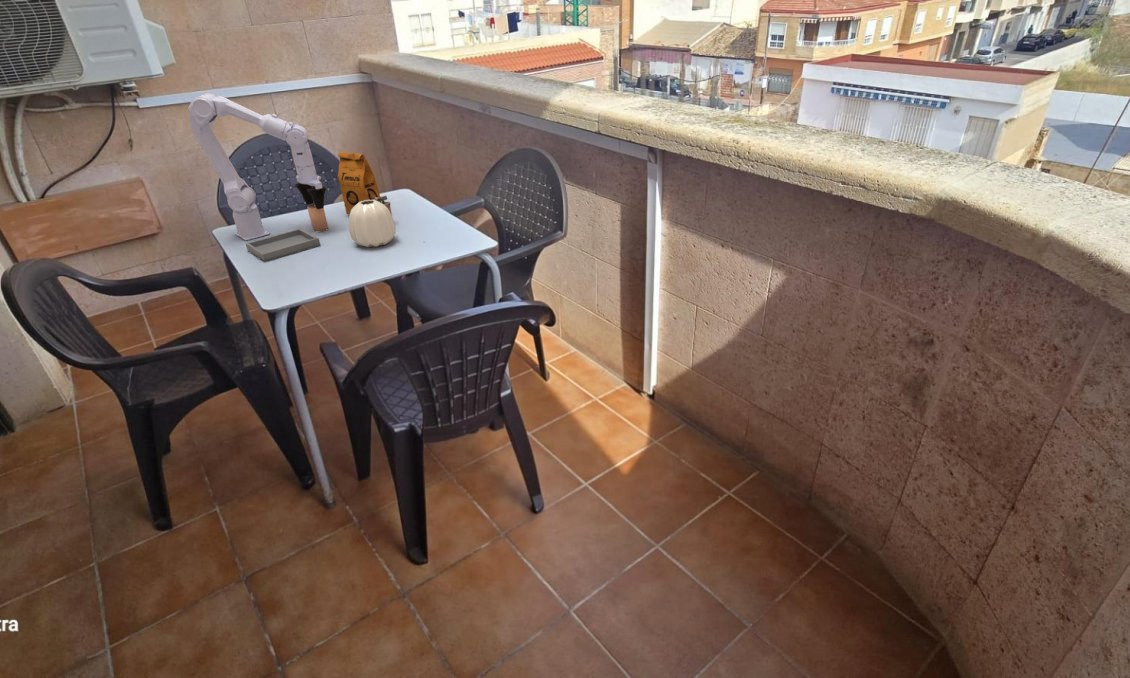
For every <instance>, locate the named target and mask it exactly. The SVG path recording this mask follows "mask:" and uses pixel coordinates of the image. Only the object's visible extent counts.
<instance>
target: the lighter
mask: <svg viewBox="0 0 1130 678" xmlns="http://www.w3.org/2000/svg"><path fill="white" fill-rule="evenodd" d="M374 200H376V201H378V202H380V203H382V204H384V205H385V206H386V207H387V208H388V209H389V211H390V213H391V215H392V216H393V214H392V208H391V201H388V196H387V195H382V196H380V198H377V197H375V198H374ZM386 200H387V201H386Z"/></svg>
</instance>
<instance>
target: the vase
mask: <svg viewBox="0 0 1130 678" xmlns="http://www.w3.org/2000/svg"><path fill="white" fill-rule="evenodd" d="M391 213H392V212H391ZM391 213H390V211H389V209H388V208H387V207H386V206H385V205H384V204H382V203H380V202H378V201H376V200H364V201H361V202H359V203H358V204H356V205H355V206H354V207H353V208H352V209H351V212H350V214H349V216H348V227H349V229H348V231H349V235H350V238H351V240H352V241H354V242H355V243H356V244H358V245H359V246H361V247H366V248H371V247H376V248H377V247H379V246H386V244H387V243H390V242H391V241H392V240H393V238H394V237H395V235H396V232H397V231H396V224H395V220H394V217H393V214H392V215H391Z"/></svg>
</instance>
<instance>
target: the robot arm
mask: <svg viewBox="0 0 1130 678" xmlns="http://www.w3.org/2000/svg"><path fill="white" fill-rule="evenodd" d="M187 110H188V112H189V129H190V132H191V133H192V134H193V136H194V138H195V139H196V140H197V141H196V142H198V144H199V146H200V148H201V149H202V151H203V153H204V154H205V156H206V158H207V159H208V161H209V162H210V164H211V166H212V168H213V169H214V171H215V172H216V174H217V176H218V177H219V179H220V181H221V182H222V184H223V191H224V195H226V199H227V200H226V201H227V204H228V206H229V208H230V209H231V210H232V219H233V221H234V224H235V226H236V232H235V233H234V235H236V236H238V237H239V238H241V239H243V240H244V241H250V240H253V239H256V238H257V239H258V238H262V237H264V236H267V235H270V234H271V233H270V232H269V231H268V230H265V228H264V225H263V221H262V218H261V215H260V211H259V207H258V206H257V204H256V203H255V201H256V198H257V194H256V192H255V190H254V189H253V188H252V187H250V186H249V185H248V183H247V182H246V181H245V179H243V178H242V177H241V176H239V173H238V172H237V170H236V169H235V167H234V165H233V164H232V162H231V160H230V158H229V156H228V155H227V153H226V152H225V150H224V148H223V146H222V145H221V143H220V141H219V140H218V138H217V136H216V134H215V133H214V131H213V126H214V124H215V123H214V122H215V121H216V118H219V117H227V116H232V117H235V118H237V119H239V120H242V121H246V122H248V123H250V124H254V125H256V126H258V127H259V128H260V130H261V131H262V132H263V133H265V134H268V135H270V136H273V137H275V138H277V139H280V140H282V141H286V143H287V144H288V145H289V146H290V150H291V155H292V159H293V163H294V166H295V171H296V174H297V175H295V177H296V178H295V179H296V181H297V182H298V183H294V187H295V188H296V189H297V190H298V191H299V193H300V195H301V196H302V198H303V200H304V201H305V204H306V205H308V206H310V205H313V204H315V206H316V208H317V209H322V208H324V209H325V207H324V206H325V195H326V194H325V193H326V190H327V187H326V186H323V185H322V182H321V181H320V180H322V177H321V176H320V175H317V171H316V167H315V162H314V158H313V153H312V150H311V149H310V144H309V141H308V139H309V133H308V130H307V129H306V127H304V126H302V125H301V124H297V123H295V124H294V122H293V121H289V122H288V121H287V120H284V119H281V118H279V117H278V115H277V114H275V113H272V114H270V113H268V114H265V115H262V114H260V113H258V112H256V111H254V110H251V109H249V108H248V107H245V106H244V105H240V104H239V103H237V102H235V101H233V100H230V99H228V98H226V97H225V96H221V95H217V94H215V93H213V92H205V93H203V94H202V95H200V96H196V97H194V98H193V99H192V100H191V102H190V103H189V106H188V108H187Z"/></svg>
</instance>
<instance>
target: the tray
mask: <svg viewBox="0 0 1130 678" xmlns="http://www.w3.org/2000/svg"><path fill="white" fill-rule="evenodd" d="M317 246H318V247H321V242H320V238H319V237H317V236H316V235H314V234H311V233H309V232H308V231H306V230H304V229H302V228H297V229H293V230H289V231H285V232H282V233H277V234H276V235H271V236H268V237H267V236H266V237H264V238H260V239H257V240H252V241H249V242H246V243H245V247H246V250H247V251H248V252H249V253H250V254H252V255H253V256H255V257H256V258H258V259H259V260H261V261H263V262H264V263H266V262H267V263H268V262H271V261H275V260H278V259H282V258H283V257H284V258H285V257H287V256H290V255H294V254H297V253H301V252H304V251H308V250H311V249H314V248H317Z"/></svg>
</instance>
